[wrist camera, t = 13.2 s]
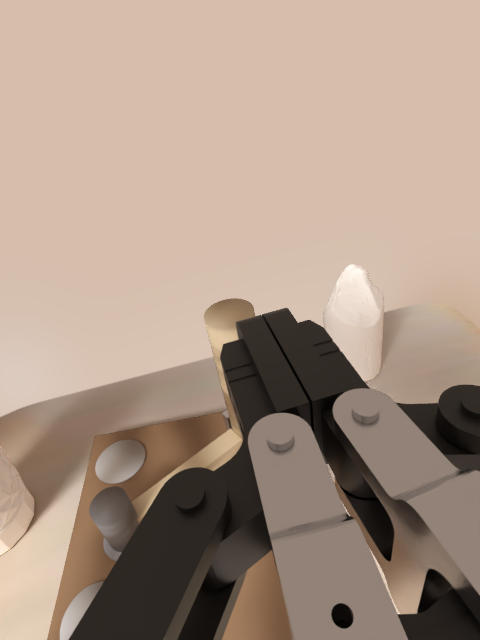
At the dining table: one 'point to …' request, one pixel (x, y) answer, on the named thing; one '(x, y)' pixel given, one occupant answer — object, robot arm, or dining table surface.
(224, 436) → the hinged leg
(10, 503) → the white cup
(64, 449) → the dining table surface
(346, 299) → the white pointed cylinder
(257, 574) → the stool seat
